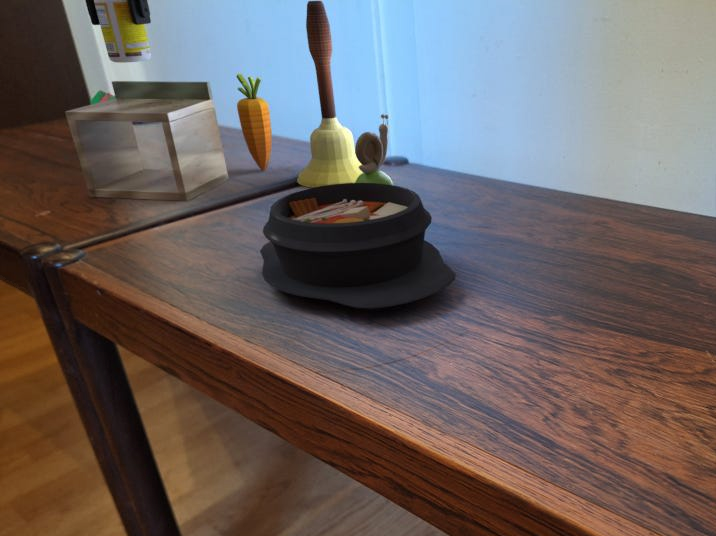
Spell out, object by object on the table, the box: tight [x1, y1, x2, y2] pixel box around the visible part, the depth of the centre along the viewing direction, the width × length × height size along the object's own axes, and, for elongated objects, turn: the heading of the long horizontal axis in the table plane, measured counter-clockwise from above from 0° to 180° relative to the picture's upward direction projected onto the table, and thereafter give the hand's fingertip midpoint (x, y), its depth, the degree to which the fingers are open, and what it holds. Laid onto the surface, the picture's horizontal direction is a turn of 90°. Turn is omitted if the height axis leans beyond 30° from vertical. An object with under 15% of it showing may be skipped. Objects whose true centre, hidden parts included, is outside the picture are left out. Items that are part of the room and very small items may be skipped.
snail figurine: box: [354, 113, 395, 186], centre depth 93 cm, size 5×6×12 cm
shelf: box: [64, 80, 229, 202], centre depth 104 cm, size 16×12×15 cm
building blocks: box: [90, 89, 144, 124], centre depth 155 cm, size 8×8×12 cm
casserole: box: [259, 183, 457, 310], centre depth 72 cm, size 25×19×8 cm
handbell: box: [296, 0, 363, 188], centre depth 105 cm, size 12×12×25 cm
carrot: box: [236, 73, 272, 172], centre depth 112 cm, size 5×5×15 cm
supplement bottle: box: [94, 0, 152, 64], centre depth 96 cm, size 6×6×10 cm
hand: (121, 22), depth 96 cm, fingers closed on supplement bottle, 5 cm apart
